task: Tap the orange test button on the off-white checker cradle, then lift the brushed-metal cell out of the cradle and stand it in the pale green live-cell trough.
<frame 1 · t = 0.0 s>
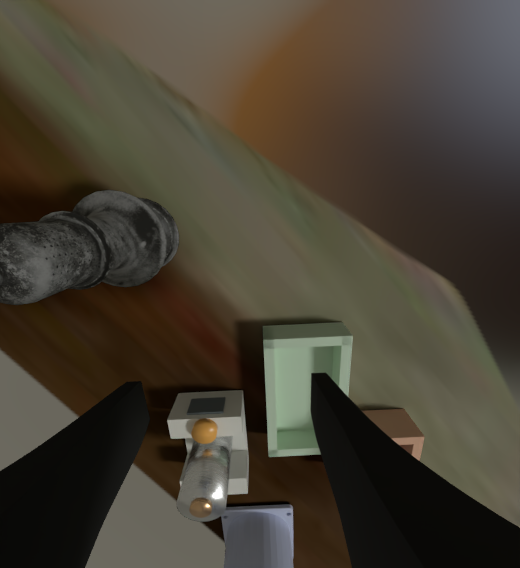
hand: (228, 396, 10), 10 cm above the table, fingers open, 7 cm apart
cradle: (215, 428, 24), on the table
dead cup: (365, 437, 24), on the table
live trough: (302, 382, 22), on the table
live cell: (214, 432, 23), resting on cradle
grey chess piece: (144, 235, 18), on the table
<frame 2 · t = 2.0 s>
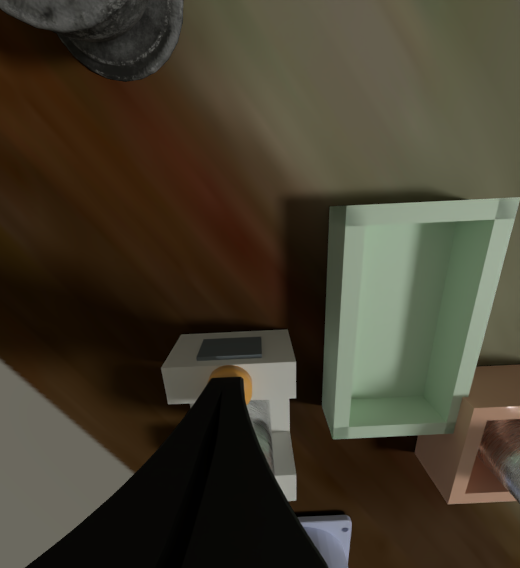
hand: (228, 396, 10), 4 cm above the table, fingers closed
cradle: (240, 396, 15), on the table
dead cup: (475, 411, 15), on the table
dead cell: (480, 416, 15), resting on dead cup
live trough: (386, 316, 13), on the table
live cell: (239, 401, 14), resting on cradle, touching gripper
grey chess piece: (117, 2, 9), on the table
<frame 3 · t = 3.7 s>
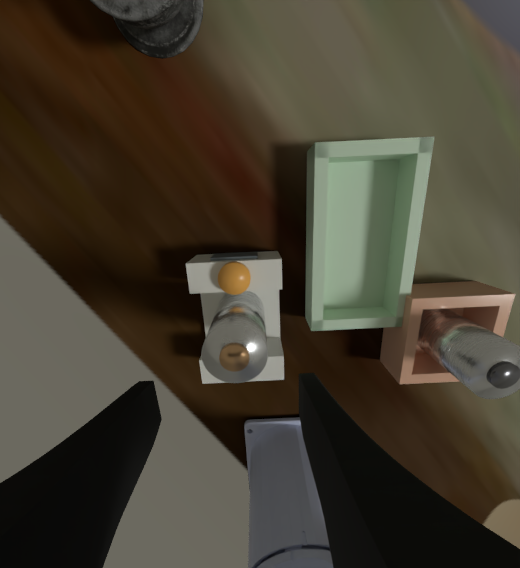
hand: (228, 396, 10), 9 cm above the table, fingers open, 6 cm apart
cradle: (241, 308, 19), on the table
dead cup: (425, 322, 20), on the table
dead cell: (428, 324, 19), resting on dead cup
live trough: (352, 240, 18), on the table
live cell: (241, 310, 19), resting on cradle
grey chess piece: (157, 3, 14), on the table
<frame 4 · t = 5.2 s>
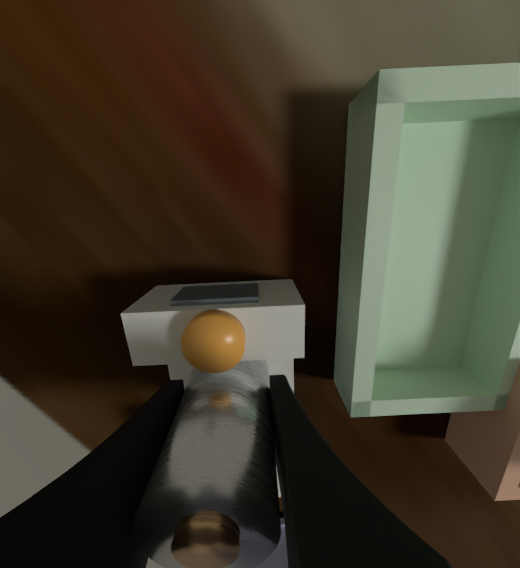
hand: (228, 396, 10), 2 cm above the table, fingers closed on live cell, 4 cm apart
cradle: (232, 368, 12), on the table
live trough: (417, 262, 11), on the table
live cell: (231, 373, 12), resting on cradle, touching gripper
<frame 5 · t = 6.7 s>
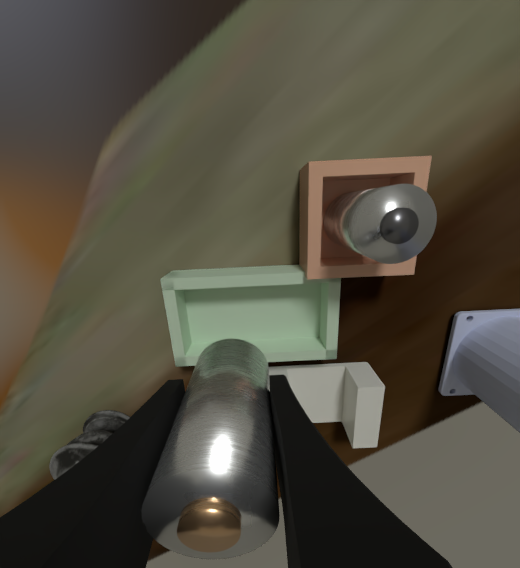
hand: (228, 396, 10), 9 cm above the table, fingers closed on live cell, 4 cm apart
cradle: (314, 392, 22), on the table
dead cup: (347, 219, 17), on the table
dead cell: (349, 220, 17), resting on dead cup
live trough: (254, 308, 19), on the table
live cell: (232, 370, 12), point 7 cm above the table, touching gripper
grey chess piece: (114, 430, 23), on the table
when the fingers open (3 cm above the table, at t = 8.2 s): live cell stays where it is, resting on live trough.
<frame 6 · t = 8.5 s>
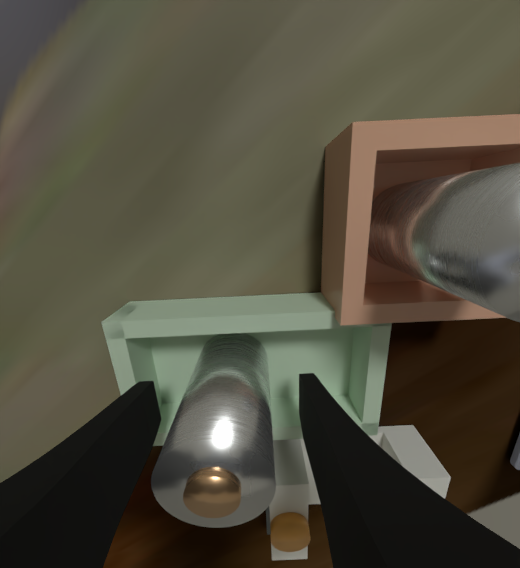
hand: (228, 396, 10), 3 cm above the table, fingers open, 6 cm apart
cradle: (336, 464, 16), on the table
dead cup: (396, 225, 11), on the table
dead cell: (401, 226, 11), resting on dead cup
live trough: (252, 354, 13), on the table
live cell: (234, 361, 13), resting on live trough
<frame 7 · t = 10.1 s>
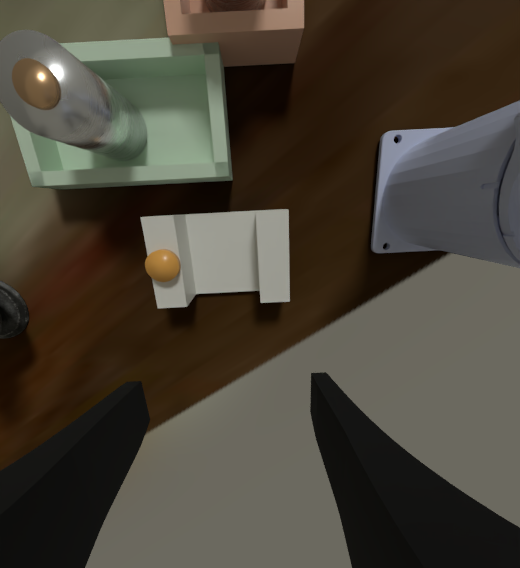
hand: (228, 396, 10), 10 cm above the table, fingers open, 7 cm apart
cradle: (225, 253, 18), on the table
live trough: (137, 129, 16), on the table
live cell: (118, 129, 15), resting on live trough
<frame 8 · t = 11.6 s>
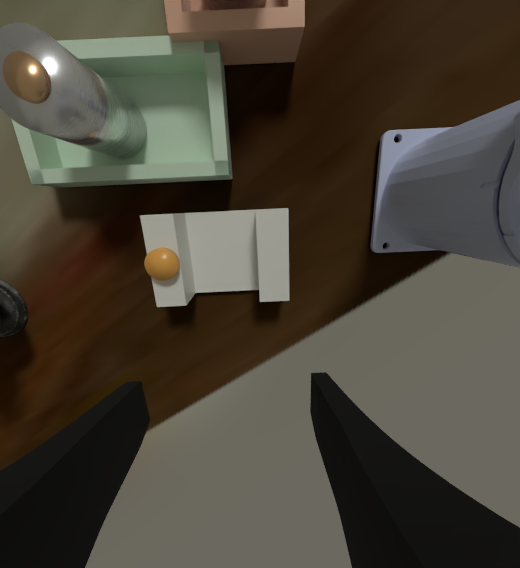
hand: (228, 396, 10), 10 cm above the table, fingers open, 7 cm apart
cradle: (224, 252, 18), on the table
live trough: (137, 127, 16), on the table
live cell: (118, 127, 15), resting on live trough
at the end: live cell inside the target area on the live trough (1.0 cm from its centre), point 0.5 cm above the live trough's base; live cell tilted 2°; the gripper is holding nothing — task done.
